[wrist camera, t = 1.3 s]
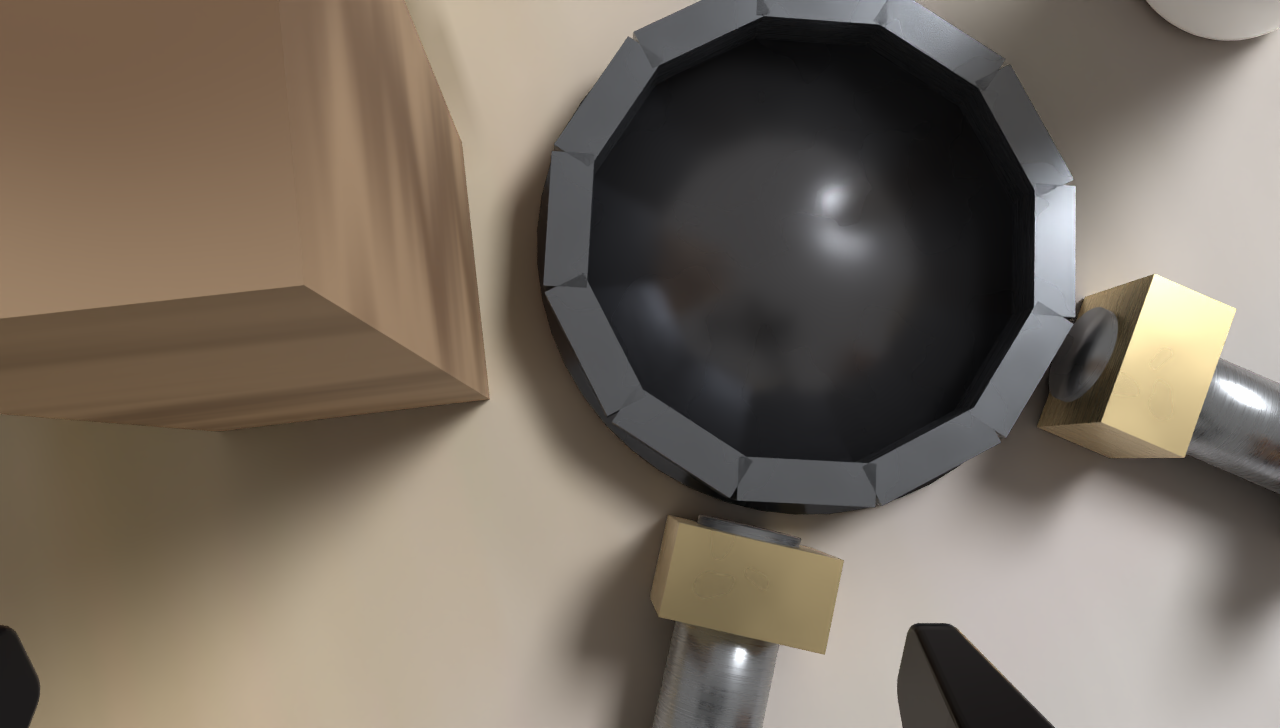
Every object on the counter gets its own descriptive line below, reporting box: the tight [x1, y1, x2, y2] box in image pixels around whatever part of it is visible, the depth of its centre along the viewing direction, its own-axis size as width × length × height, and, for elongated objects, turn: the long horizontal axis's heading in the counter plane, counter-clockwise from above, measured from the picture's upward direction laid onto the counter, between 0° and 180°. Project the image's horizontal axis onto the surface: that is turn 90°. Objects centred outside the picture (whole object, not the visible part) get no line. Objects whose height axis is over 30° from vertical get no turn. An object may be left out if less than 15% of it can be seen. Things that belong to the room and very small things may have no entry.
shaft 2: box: [1037, 274, 1280, 494], centre depth 22 cm, size 8×4×4 cm, turn 67°
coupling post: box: [0, 0, 490, 431], centre depth 16 cm, size 6×6×15 cm
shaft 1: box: [650, 515, 844, 728], centre depth 21 cm, size 8×4×4 cm, turn 167°
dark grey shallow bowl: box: [537, 0, 1076, 514], centre depth 23 cm, size 13×13×2 cm
